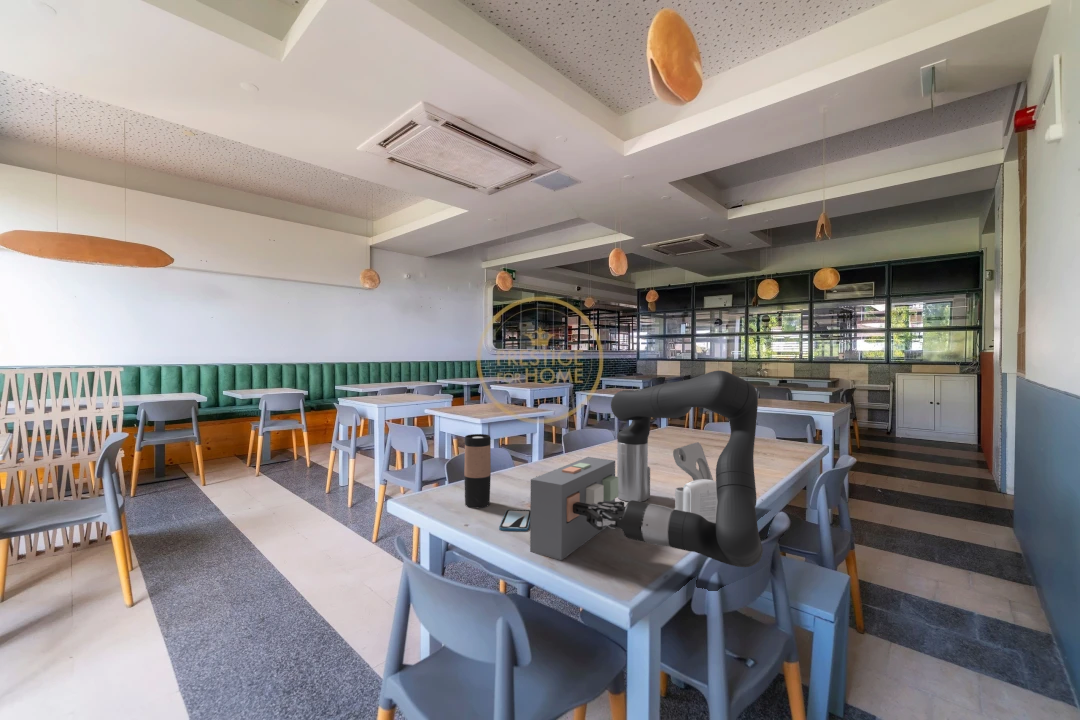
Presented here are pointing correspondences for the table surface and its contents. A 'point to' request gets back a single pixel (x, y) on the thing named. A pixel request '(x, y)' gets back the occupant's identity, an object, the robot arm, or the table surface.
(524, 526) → the smartphone
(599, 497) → the white key
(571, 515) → the terracotta key
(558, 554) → the keypad console
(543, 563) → the table surface
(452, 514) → the table surface
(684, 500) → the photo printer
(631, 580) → the table surface
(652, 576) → the table surface
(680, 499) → the phone holder
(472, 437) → the travel mug
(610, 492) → the sage key
